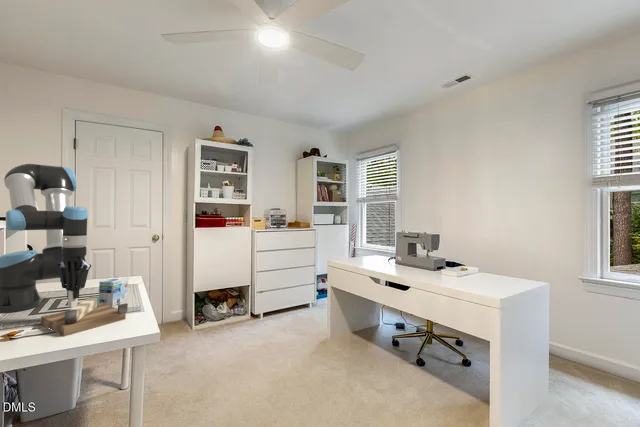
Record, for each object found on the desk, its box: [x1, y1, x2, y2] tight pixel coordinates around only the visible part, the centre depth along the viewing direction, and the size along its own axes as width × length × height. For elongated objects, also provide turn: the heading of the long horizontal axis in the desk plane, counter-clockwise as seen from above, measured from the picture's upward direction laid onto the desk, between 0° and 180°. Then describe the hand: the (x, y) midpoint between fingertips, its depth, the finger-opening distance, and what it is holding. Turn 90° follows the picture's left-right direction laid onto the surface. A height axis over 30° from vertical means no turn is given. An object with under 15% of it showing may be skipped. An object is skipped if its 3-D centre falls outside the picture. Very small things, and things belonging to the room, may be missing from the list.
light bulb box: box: [98, 276, 129, 307], centre depth 141 cm, size 11×7×11 cm, turn 179°
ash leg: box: [64, 296, 99, 324], centre depth 117 cm, size 21×4×4 cm, turn 16°
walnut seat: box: [40, 302, 128, 337], centre depth 117 cm, size 18×20×6 cm
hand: (72, 306), depth 120 cm, fingers closed
